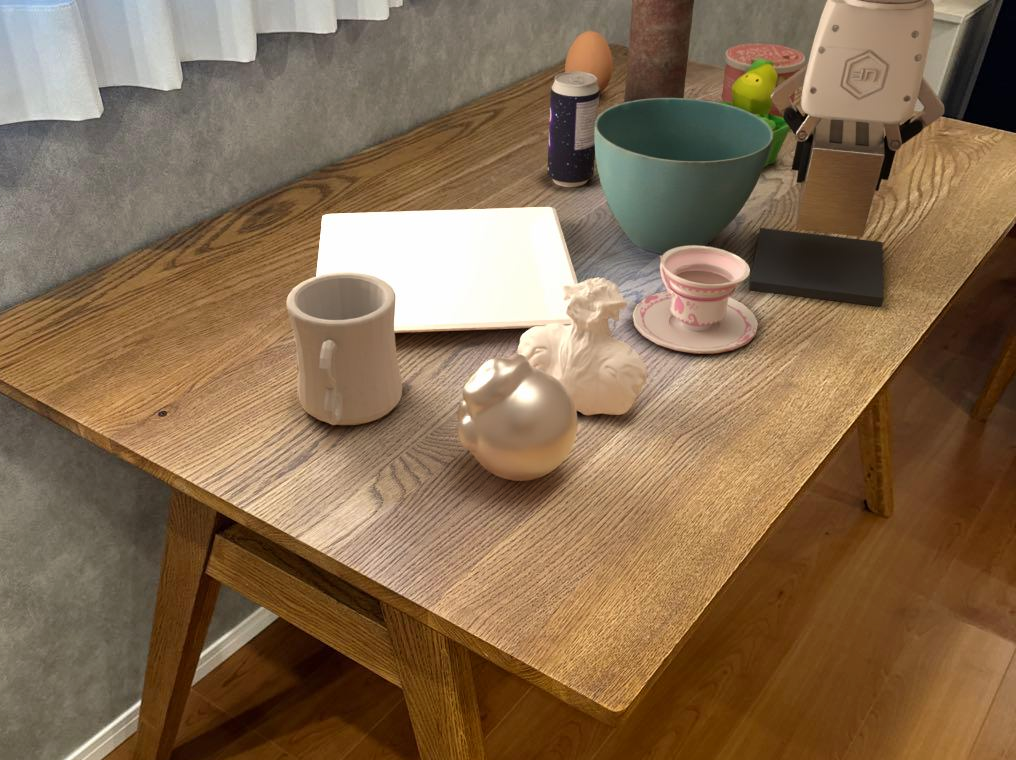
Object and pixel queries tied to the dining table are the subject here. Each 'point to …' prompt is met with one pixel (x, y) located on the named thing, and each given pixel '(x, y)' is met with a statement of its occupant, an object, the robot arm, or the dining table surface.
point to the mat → (818, 267)
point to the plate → (457, 265)
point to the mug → (345, 347)
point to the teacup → (697, 302)
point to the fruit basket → (760, 101)
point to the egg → (591, 57)
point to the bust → (588, 351)
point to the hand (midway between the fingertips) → (837, 180)
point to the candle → (658, 49)
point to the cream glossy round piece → (516, 419)
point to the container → (747, 54)
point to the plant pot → (678, 167)
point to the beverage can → (572, 128)
